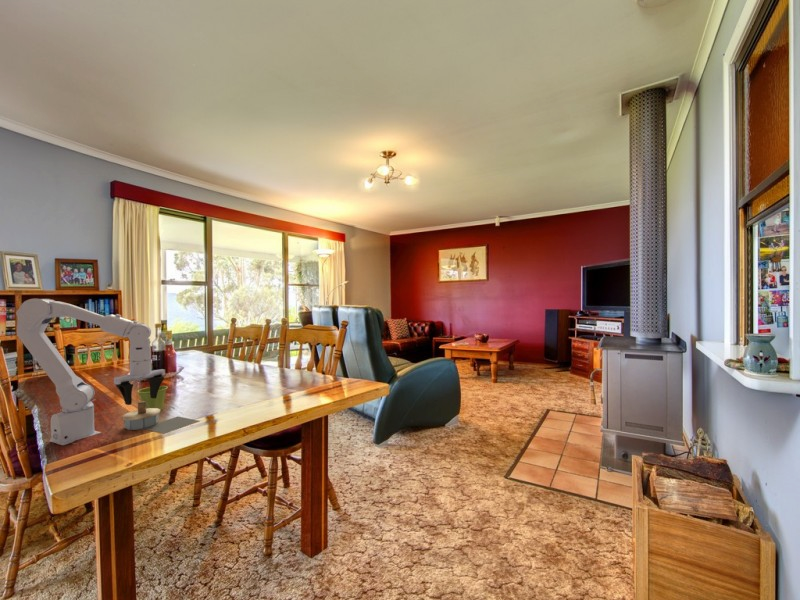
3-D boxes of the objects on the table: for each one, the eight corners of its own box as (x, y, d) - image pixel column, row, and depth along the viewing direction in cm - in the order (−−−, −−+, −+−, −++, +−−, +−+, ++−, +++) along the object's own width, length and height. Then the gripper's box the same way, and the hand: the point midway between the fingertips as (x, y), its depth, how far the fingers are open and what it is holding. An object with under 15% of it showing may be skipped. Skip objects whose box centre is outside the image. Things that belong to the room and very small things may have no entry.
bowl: (135, 433, 110) (135, 420, 110) (119, 429, 114) (119, 417, 114) (163, 424, 118) (163, 412, 118) (148, 420, 122) (147, 409, 122)
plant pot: (132, 413, 129) (132, 390, 129) (159, 406, 138) (159, 384, 138) (146, 417, 125) (145, 393, 125) (173, 409, 133) (173, 387, 133)
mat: (163, 435, 108) (163, 433, 108) (140, 430, 113) (140, 428, 113) (200, 422, 119) (200, 420, 119) (177, 418, 124) (177, 416, 124)
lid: (136, 421, 109) (135, 408, 109) (115, 418, 113) (115, 405, 113) (167, 411, 119) (167, 399, 119) (147, 408, 122) (147, 396, 122)
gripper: (122, 365, 107) (123, 409, 108) (170, 357, 121) (171, 396, 121) (109, 363, 110) (110, 406, 111) (157, 356, 124) (158, 394, 124)
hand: (141, 401), depth 116 cm, fingers open, 7 cm apart
